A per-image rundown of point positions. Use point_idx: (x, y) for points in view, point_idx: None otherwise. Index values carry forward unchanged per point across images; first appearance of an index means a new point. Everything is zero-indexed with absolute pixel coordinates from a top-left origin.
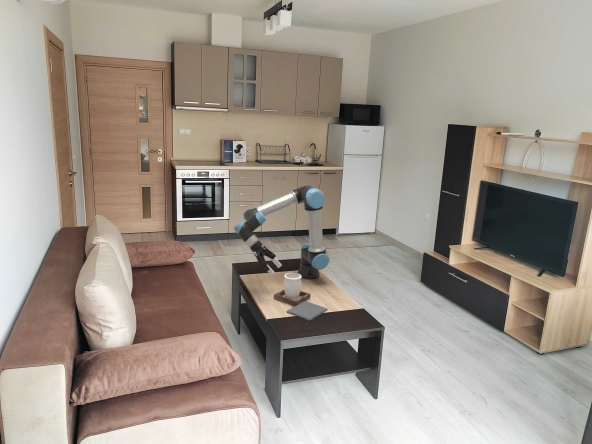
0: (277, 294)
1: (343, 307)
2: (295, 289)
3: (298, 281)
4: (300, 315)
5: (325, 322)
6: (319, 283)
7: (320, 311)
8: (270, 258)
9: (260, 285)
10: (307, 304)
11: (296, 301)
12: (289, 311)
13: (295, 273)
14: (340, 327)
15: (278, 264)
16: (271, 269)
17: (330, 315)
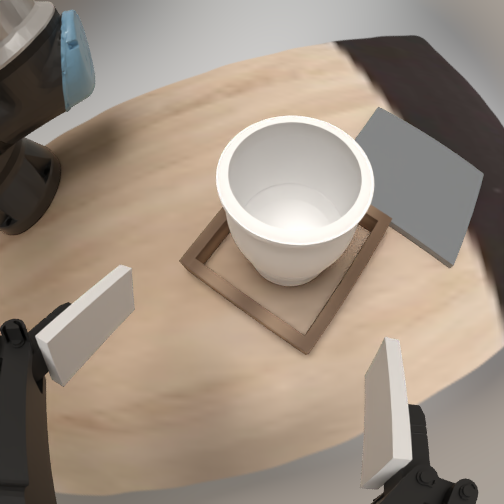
0: (296, 330)
1: (337, 69)
2: (346, 195)
3: (333, 149)
4: (472, 205)
5: (467, 132)
6: (105, 141)
7: (413, 131)
8: (45, 403)
9: (116, 431)
10: None
11: (384, 213)
12: (455, 252)
13: (222, 157)
14: (473, 102)
15: (113, 302)
16: (399, 380)
17: (415, 109)
